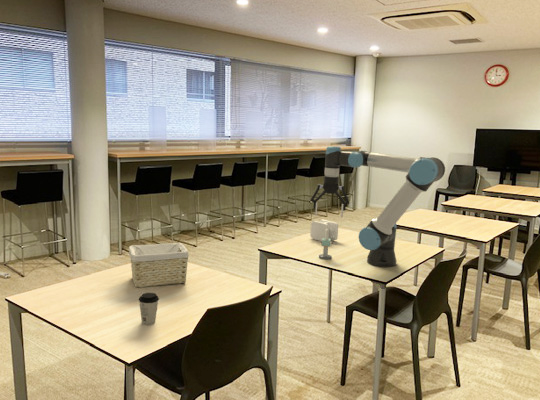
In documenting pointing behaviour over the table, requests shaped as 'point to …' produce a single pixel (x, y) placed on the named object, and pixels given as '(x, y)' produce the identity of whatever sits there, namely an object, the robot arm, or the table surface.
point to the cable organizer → (324, 230)
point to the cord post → (325, 249)
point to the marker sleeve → (326, 242)
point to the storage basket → (158, 264)
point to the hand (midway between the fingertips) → (328, 215)
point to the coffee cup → (148, 308)
